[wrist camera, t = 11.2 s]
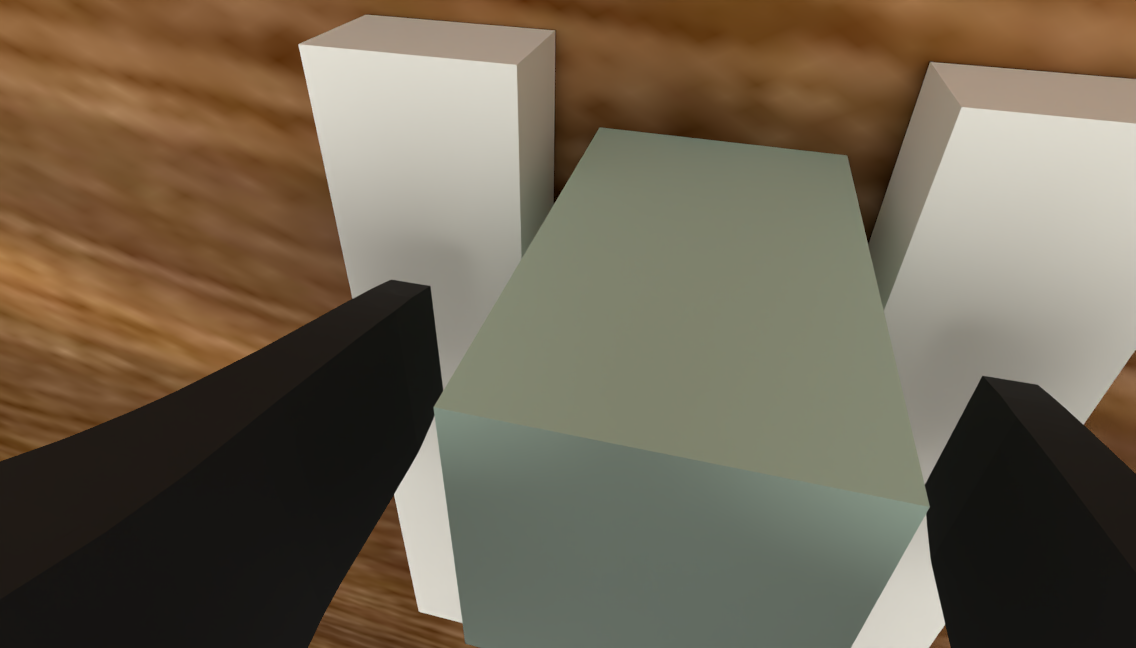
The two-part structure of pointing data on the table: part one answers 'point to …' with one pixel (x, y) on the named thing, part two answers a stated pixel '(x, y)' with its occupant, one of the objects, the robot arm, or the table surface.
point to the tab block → (682, 412)
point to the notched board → (897, 245)
